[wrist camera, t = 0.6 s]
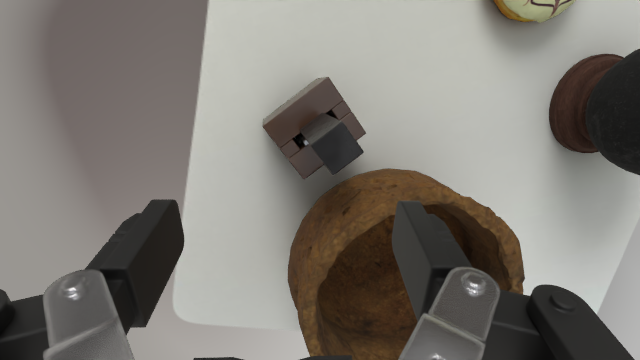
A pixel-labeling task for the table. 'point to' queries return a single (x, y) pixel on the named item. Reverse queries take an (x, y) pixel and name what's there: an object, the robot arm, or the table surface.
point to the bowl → (381, 261)
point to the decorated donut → (532, 9)
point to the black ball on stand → (600, 109)
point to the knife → (331, 142)
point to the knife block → (302, 111)
